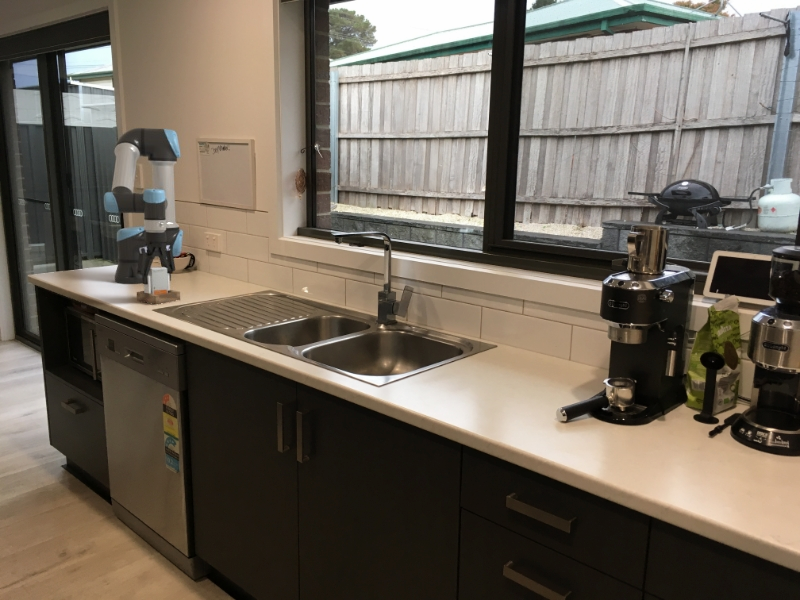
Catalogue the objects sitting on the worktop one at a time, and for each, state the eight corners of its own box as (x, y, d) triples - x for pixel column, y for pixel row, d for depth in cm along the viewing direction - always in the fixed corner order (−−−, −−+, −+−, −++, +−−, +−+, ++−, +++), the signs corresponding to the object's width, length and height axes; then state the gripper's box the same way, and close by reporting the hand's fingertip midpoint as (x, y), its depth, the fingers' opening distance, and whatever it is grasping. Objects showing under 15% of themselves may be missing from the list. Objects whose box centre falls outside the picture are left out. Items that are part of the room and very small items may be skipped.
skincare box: (152, 300, 239) (151, 269, 237) (148, 298, 242) (147, 267, 240) (168, 299, 243) (167, 268, 241) (164, 297, 246) (163, 266, 244)
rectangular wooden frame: (137, 300, 241) (136, 292, 241) (161, 296, 250) (161, 287, 250) (155, 304, 236) (155, 296, 235) (180, 300, 245) (180, 291, 244)
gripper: (137, 233, 227) (139, 296, 231) (184, 230, 244) (186, 289, 248) (124, 231, 231) (126, 293, 235) (171, 229, 248) (173, 286, 252)
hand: (157, 291), depth 242 cm, fingers open, 8 cm apart
